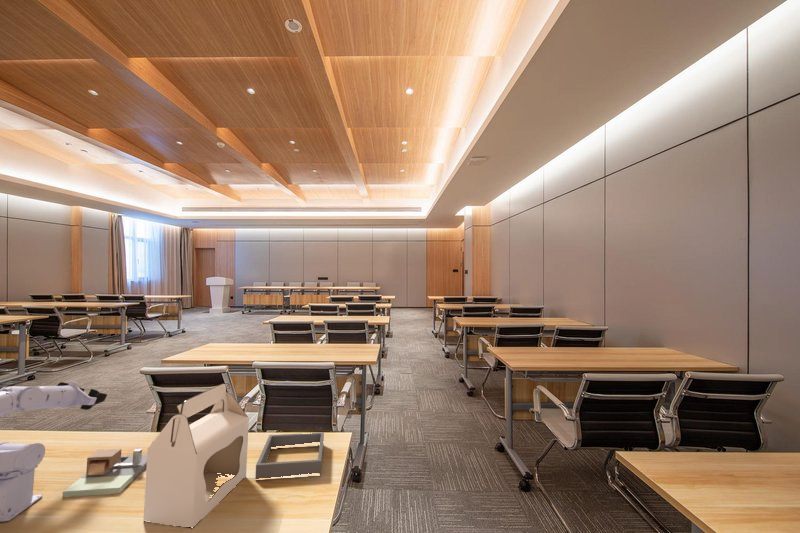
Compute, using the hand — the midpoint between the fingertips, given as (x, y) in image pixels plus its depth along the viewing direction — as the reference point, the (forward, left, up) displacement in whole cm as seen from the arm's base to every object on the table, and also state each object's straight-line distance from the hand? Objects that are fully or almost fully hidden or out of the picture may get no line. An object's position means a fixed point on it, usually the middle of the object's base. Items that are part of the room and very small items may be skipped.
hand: (93, 394), depth 107 cm
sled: (-8, -12, -19) cm, 24 cm away
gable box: (-23, -40, -21) cm, 51 cm away
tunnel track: (-9, -12, -21) cm, 26 cm away
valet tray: (-7, -62, -21) cm, 66 cm away
